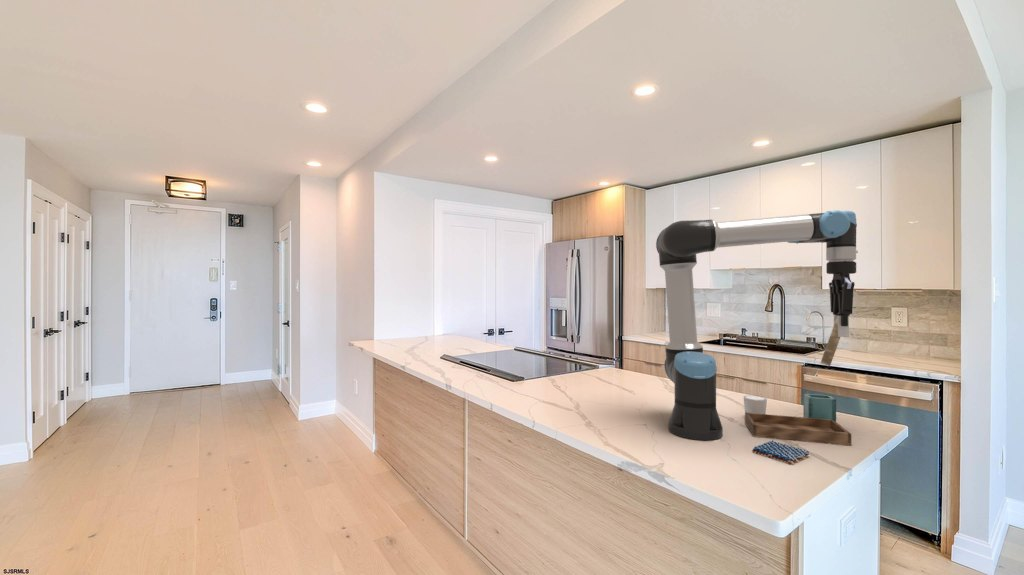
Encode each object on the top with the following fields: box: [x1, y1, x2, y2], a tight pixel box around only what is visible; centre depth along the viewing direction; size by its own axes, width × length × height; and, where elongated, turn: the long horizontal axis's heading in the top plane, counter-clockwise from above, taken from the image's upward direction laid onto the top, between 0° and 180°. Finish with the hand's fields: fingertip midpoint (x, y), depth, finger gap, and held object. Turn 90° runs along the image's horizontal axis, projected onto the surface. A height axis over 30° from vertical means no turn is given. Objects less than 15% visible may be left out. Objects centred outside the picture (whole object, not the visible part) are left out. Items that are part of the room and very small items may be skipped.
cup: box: [803, 393, 837, 422], centre depth 140 cm, size 7×6×9 cm
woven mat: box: [751, 439, 811, 465], centre depth 115 cm, size 10×11×2 cm
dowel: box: [820, 313, 841, 367], centre depth 138 cm, size 7×3×18 cm, turn 71°
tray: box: [744, 412, 852, 447], centre depth 131 cm, size 24×14×3 cm, turn 71°
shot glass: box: [743, 395, 768, 414], centre depth 146 cm, size 7×7×7 cm
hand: (841, 336), depth 138 cm, fingers closed on dowel, 2 cm apart
